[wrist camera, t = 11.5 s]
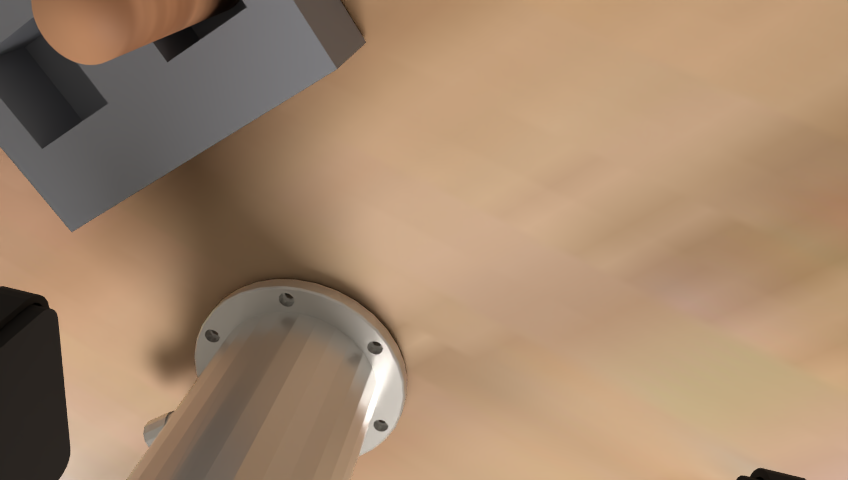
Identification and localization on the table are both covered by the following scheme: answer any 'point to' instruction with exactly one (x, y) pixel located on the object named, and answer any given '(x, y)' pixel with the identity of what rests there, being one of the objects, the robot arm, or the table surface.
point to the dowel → (116, 24)
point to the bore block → (154, 96)
